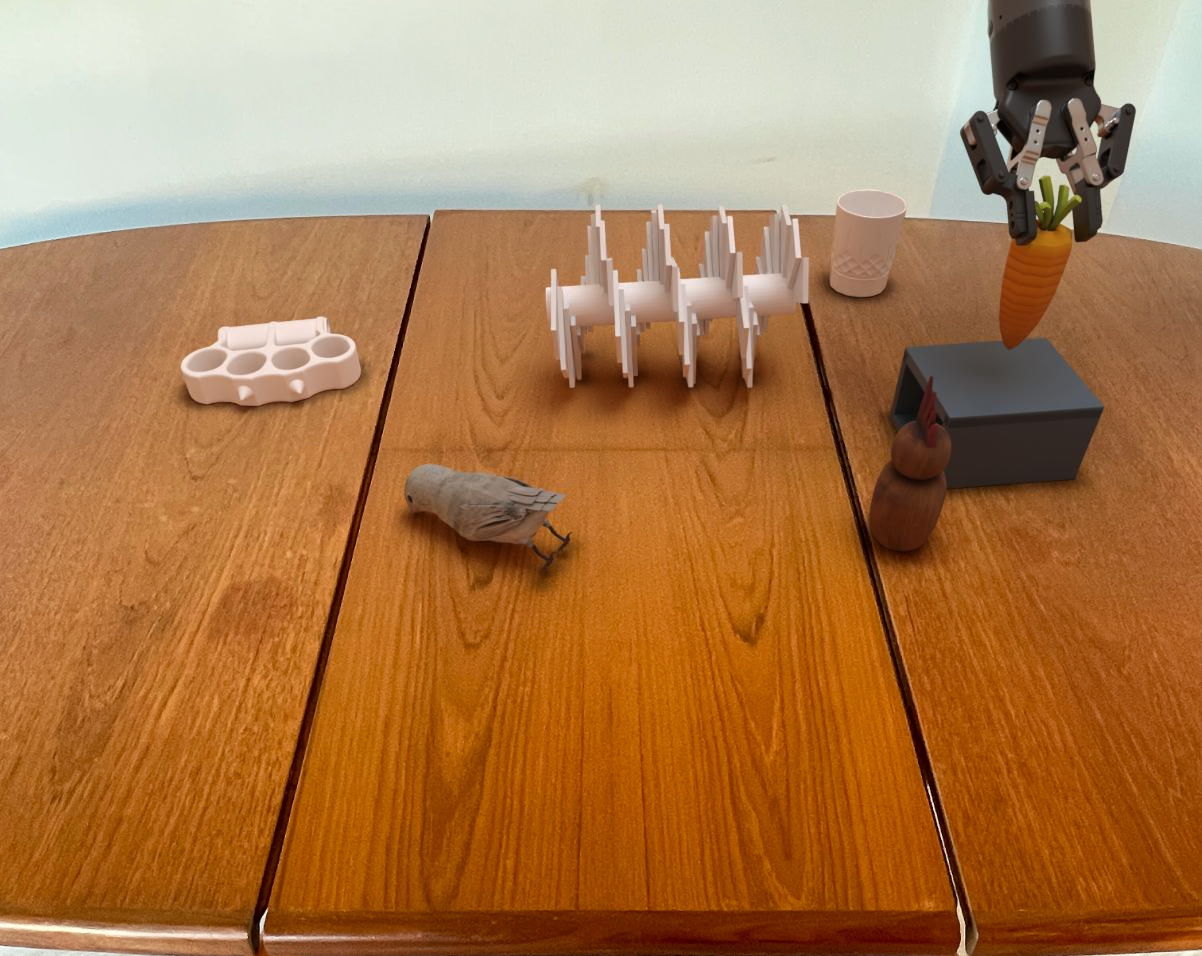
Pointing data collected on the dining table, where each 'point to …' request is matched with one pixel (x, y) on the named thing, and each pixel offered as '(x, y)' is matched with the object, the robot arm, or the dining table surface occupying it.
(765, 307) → the spiral staircase
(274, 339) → the white brass knuckles
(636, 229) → the dining table surface
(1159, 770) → the dining table surface
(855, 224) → the white cup
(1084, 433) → the shelf
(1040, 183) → the carrot
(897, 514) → the wooden figurine
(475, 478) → the decorative bird
